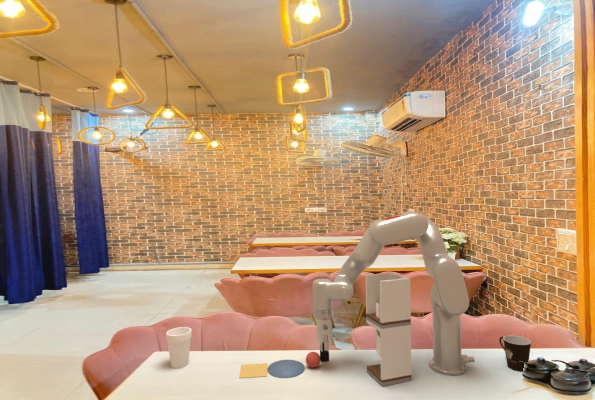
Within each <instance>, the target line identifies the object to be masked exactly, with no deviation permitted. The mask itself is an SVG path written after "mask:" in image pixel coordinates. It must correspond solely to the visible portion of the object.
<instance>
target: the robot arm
mask: <svg viewBox="0 0 595 400" xmlns="http://www.w3.org/2000/svg"><path fill="white" fill-rule="evenodd" d="M412 239H413V240H414V239H416V240H417V242H418V244H419V245H418V246H419V248H420V250H421V255H422V258H423V262H424V267H425V271H426V273H427V274H428V275H429V276H430V277H431V278H432V279H433V282H434V283H433V284H432V286H431V288H430V295H429V297H430V303H431V311H432V347H433V349H432V351H433V353H432V355H433V357H432V358H430V359H429V361H428V365H429V367H430V369H432V370H433V371H435V372H437V373H440V374H443V375H449V376H459V375H463V374H465V373H466V372H467V363H475V362H476V361H475V357H474V356H468V355H467V354H462V330H461V329H462V328H461V327H462V324H461V323H462V322H461V321H462V320H461V315H464V313H466V312H467V310H468V308H469V305H470V297H469V293H468V289H467V286H466V282H465V279H464V278H465V277H464V274H463V271H462V268H461V266H460V265H459V263H458V262H457V260H455V259H454V258H452V257H451V256H449V254H448V250H447V247H446V244H445V241H444V239H443V235H442V233H441V231H440V229H439V228H438V226H437V225H436V223H435V222H434V221H432V220H431V219H430V218H429V217H428V216H425V215H424V214H422V213H420V212H417V211H409V210H408V211H405V212H402V213H401V214H400V215H399V216H398V217H395V218H391V219H386V220H384V219H376V220H374V221H372V222H371V224H370V225H369V227H368V228H367V229H366V231H365V232H364V234H363V235H362V237H361V239H360V240H359V242H358V244H357V245H356V246H355V248H354V249H353V251H352V253H350V255H349V256H348V258H347V259H346V260H345V262H344V263H343V265H342V266H341V268H340V269H339V271H338V272H337V273H336V276H335V277H334V279H333V281H332V280H330V279H328V278H317V279H314V281H312V285H311V286H312V310H313V311H312V312H313V313H312V315H313V318H314V319H315V320H316V337H317V339H318V343H319V356H320V359H321V360H320V363H327V362H330V350H329V349H330V348H329V347H330V346H333V345H334V335H333V323H332V318H334V301H337V302H348V301H349V300H351V299H352V298H353V296H354V287H353V285H354V284H355V282H356V280H357V279H358V278H359V277H360V275H361V274H362V273H363V272H364V271H365V270H366V269H368V268H370V267H371V266H372V265H374V263H375V261H376V260H377V258H378V256H379V255H380V253H381V252H382V250H383V249H384V248H385V246H388V245H391V244H397V243H401V242H404V241H405V242H406V241H410V240H412ZM329 345H330V346H329Z"/></svg>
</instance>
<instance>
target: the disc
mask: <svg viewBox="0 0 595 400" xmlns="http://www.w3.org/2000/svg"><path fill="white" fill-rule="evenodd" d="M305 367H306V366H305V365H304V364H303V362H301V361H299V360H294V359H281V360H280V359H279V360H277V361H273V362H272V363H270V364H269V365H267V374H269V375H270V376H272V377H274V378H279V379H289V378H295V377H298V376H299V375H301V374H303V373H304V371H305V369H306V368H305Z"/></svg>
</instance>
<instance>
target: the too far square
mask: <svg viewBox="0 0 595 400" xmlns="http://www.w3.org/2000/svg"><path fill="white" fill-rule="evenodd" d="M267 368H268V362H267V363H266V362H265V363H249V364H241V365H240V370H239V377H238V378H239V379H249V378H252V379H253V378H264V377H268V371H267Z"/></svg>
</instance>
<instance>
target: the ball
mask: <svg viewBox="0 0 595 400" xmlns="http://www.w3.org/2000/svg"><path fill="white" fill-rule="evenodd" d="M305 362H306V364H307V365H308V367H309V368H317V367H319V366H320V363H321V359H320V353H318V352H316V351H310V352H308V353H307V355H306V356H305Z"/></svg>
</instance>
